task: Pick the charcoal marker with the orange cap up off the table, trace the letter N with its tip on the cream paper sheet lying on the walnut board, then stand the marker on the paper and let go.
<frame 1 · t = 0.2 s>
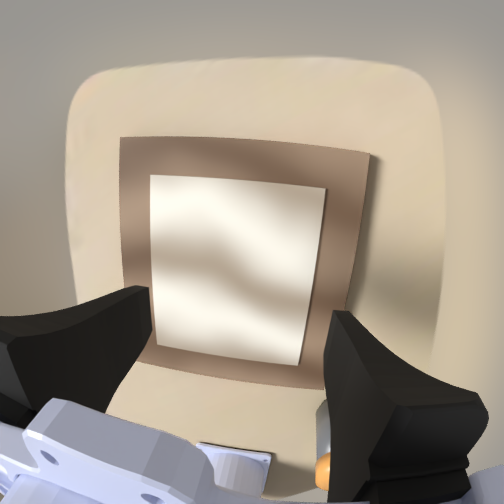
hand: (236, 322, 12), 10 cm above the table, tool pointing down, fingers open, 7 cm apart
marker: (337, 407, 25), on the table
board: (231, 271, 22), on the table
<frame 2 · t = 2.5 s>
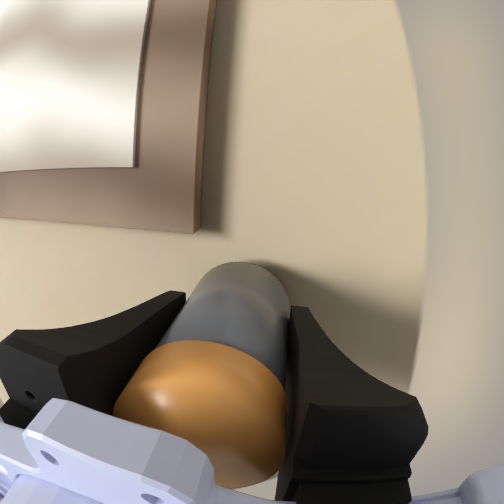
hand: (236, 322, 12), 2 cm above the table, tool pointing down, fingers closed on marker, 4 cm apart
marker: (243, 298, 14), on the table, touching gripper
board: (61, 42, 11), on the table
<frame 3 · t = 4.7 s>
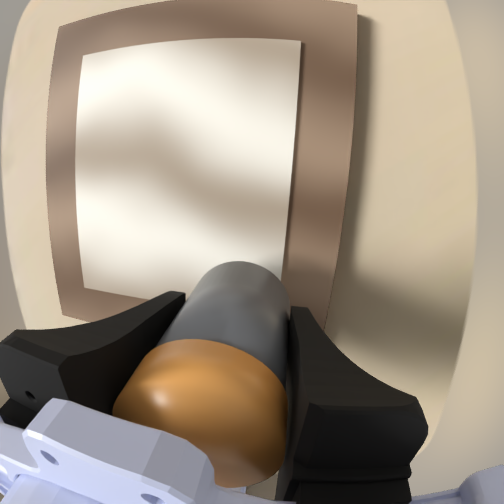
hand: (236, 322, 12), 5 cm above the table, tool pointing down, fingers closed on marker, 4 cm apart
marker: (244, 298, 14), point 3 cm above the table, touching gripper
board: (177, 172, 15), on the table
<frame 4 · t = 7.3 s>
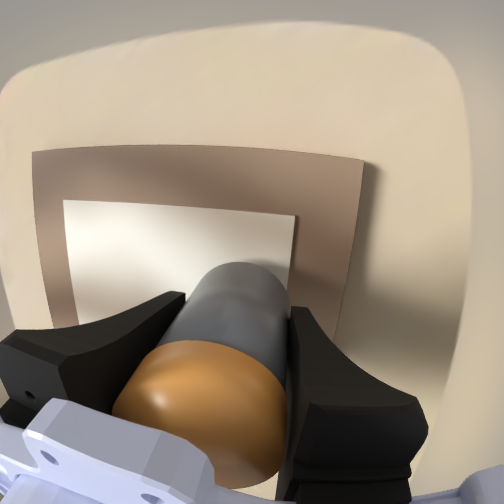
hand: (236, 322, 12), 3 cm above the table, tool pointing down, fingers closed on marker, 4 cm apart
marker: (244, 298, 14), point 1 cm above the table, touching gripper
board: (174, 324, 16), on the table
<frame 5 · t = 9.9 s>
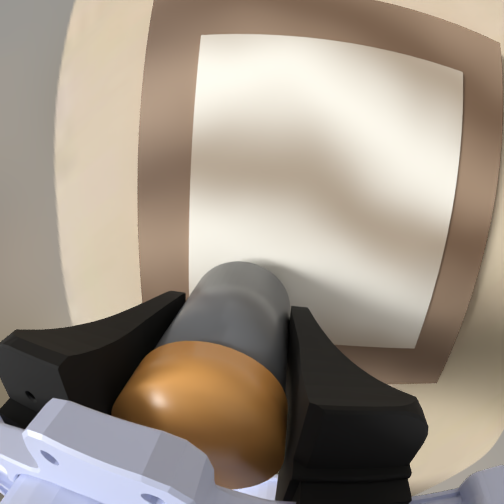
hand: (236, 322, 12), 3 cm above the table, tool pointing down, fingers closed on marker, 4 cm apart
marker: (244, 298, 14), point 1 cm above the table, touching gripper
board: (325, 196, 13), on the table
when the fingers open (4 cm above the table, at t = 12.4 s): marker drops 1 cm, resting on board.
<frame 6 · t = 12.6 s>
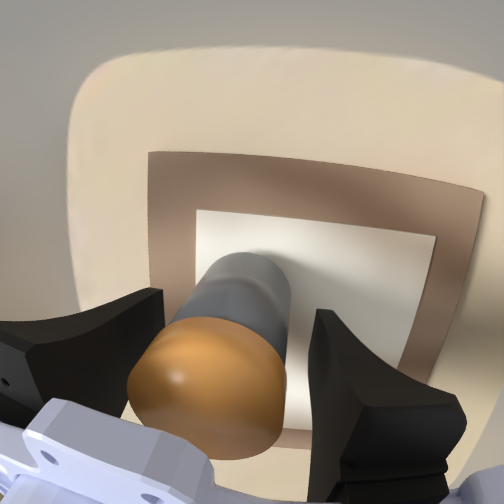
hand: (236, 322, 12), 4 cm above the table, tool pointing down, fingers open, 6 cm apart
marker: (248, 287, 15), point 1 cm above the table, touching board
board: (302, 335, 17), on the table
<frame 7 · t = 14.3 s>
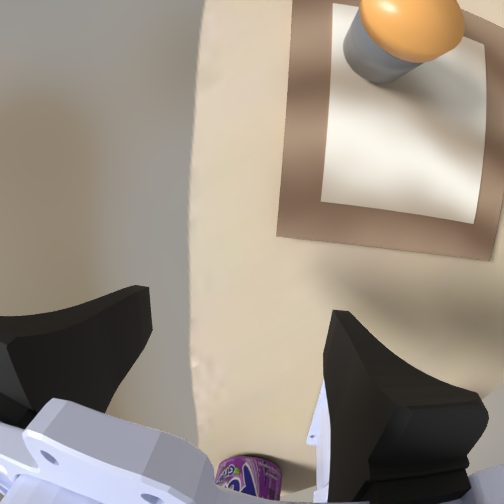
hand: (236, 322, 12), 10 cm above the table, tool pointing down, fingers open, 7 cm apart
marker: (373, 55, 15), point 1 cm above the table, touching board
board: (409, 112, 17), on the table
beverage can: (251, 466, 30), on the table
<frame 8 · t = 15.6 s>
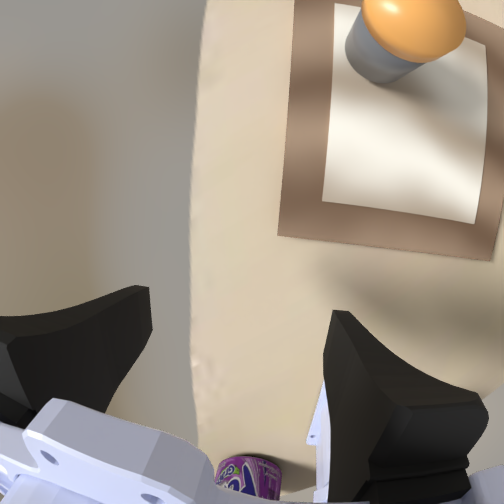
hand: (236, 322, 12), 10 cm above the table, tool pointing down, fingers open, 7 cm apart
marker: (374, 55, 15), point 1 cm above the table, touching board
board: (411, 112, 17), on the table
beverage can: (250, 466, 30), on the table
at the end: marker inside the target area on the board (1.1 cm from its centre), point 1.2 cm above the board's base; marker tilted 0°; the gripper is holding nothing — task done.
